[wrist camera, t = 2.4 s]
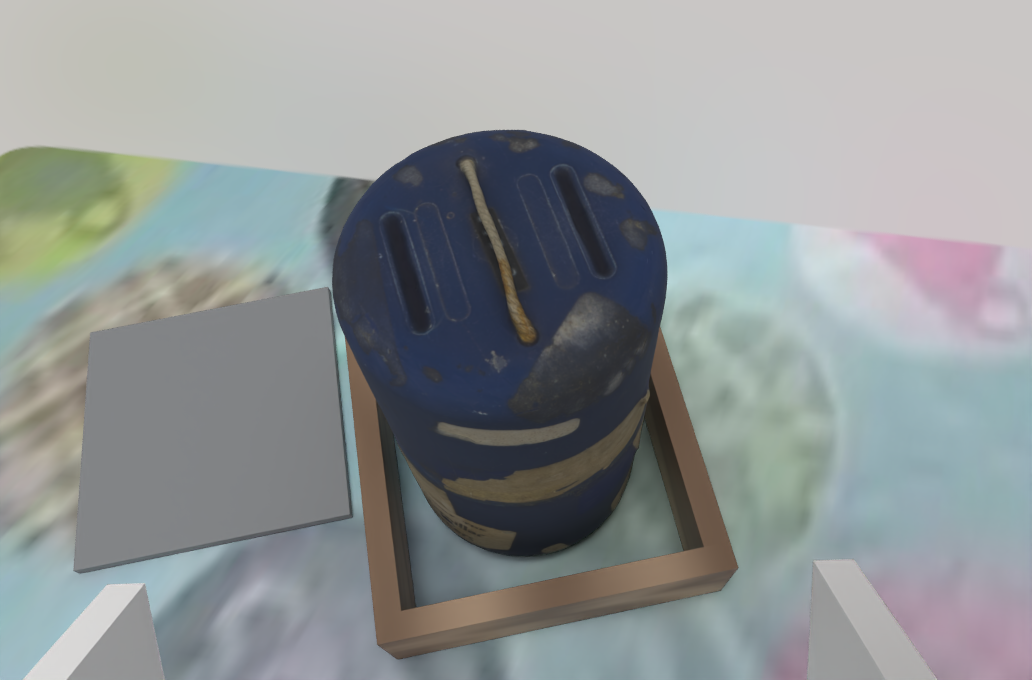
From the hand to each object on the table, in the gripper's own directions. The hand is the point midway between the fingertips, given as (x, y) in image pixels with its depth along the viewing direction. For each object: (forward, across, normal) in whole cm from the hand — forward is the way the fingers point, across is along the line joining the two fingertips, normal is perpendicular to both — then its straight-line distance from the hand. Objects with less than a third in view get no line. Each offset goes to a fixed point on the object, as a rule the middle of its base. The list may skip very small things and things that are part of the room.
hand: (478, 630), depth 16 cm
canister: (+20, 0, -6) cm, 21 cm away
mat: (+22, -14, -4) cm, 26 cm away
